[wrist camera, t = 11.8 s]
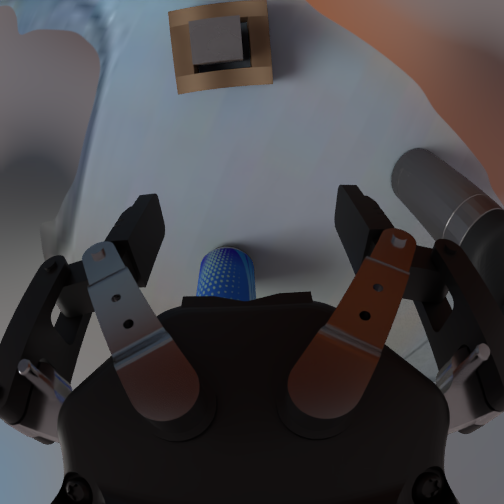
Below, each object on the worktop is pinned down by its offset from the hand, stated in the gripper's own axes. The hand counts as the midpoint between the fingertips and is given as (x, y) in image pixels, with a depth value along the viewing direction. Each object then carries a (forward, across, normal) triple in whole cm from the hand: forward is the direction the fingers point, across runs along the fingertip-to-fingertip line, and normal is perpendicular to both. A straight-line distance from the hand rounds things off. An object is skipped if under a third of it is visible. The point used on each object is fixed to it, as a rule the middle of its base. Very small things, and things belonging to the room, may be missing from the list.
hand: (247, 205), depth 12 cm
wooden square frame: (+24, +2, -9) cm, 25 cm away
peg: (+24, +2, -8) cm, 25 cm away
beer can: (+24, +4, +24) cm, 34 cm away
